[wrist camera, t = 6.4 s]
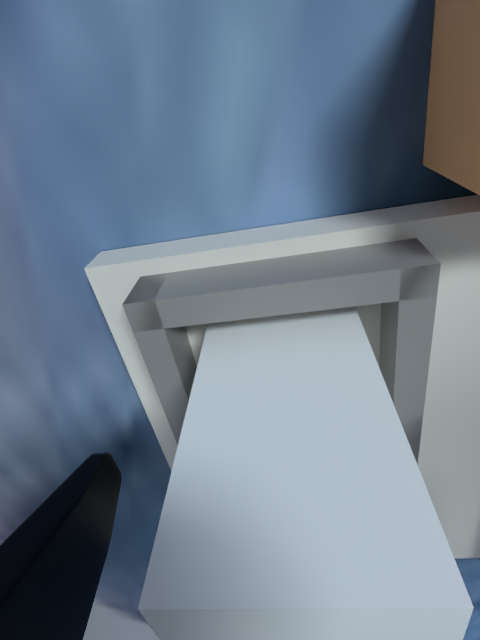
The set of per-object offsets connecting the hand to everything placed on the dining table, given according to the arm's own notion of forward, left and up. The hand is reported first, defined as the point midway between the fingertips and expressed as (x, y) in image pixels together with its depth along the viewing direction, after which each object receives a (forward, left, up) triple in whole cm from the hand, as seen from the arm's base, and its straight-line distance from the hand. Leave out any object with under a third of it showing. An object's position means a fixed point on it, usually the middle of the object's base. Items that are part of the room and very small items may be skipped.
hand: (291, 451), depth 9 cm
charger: (0, 0, -3) cm, 3 cm away
